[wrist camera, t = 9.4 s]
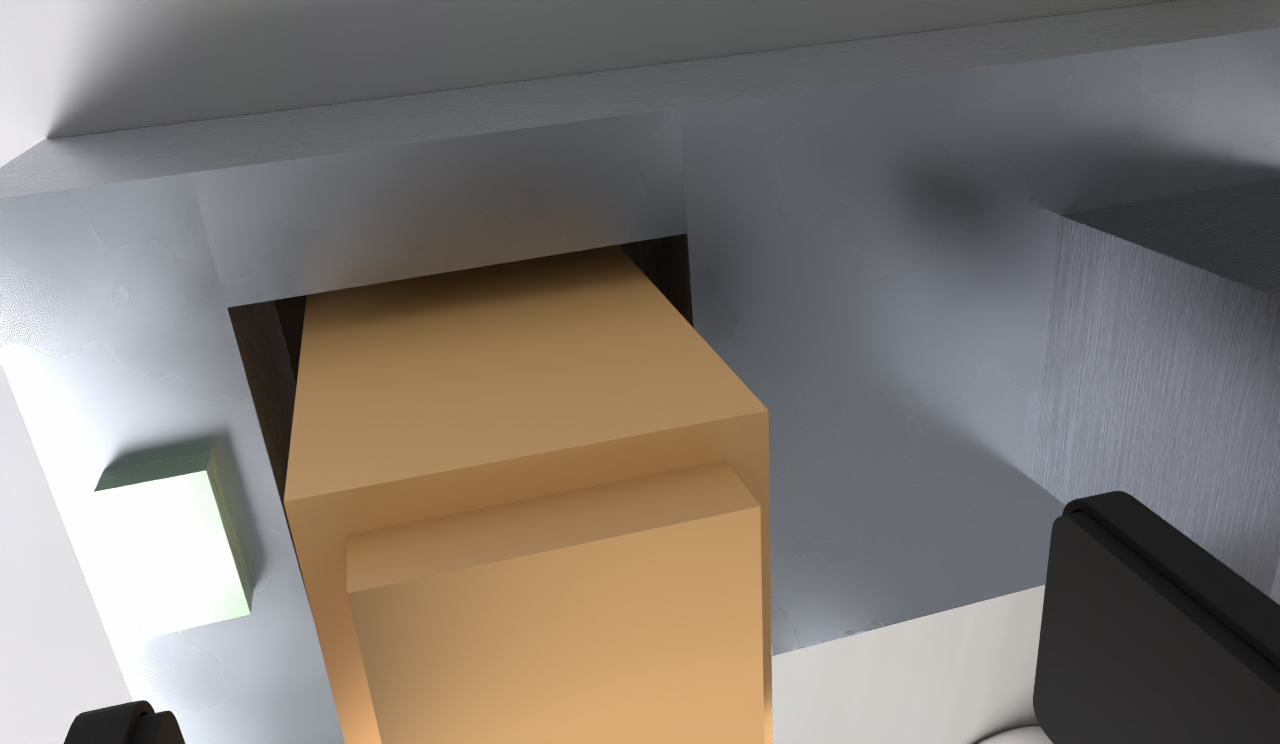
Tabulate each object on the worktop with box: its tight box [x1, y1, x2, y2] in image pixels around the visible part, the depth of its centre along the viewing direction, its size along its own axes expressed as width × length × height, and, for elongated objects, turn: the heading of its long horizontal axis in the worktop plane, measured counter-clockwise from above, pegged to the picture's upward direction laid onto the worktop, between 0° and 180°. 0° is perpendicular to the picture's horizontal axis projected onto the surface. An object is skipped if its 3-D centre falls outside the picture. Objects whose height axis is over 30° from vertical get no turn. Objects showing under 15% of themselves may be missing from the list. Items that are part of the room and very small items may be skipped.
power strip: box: [0, 0, 1280, 744], centre depth 16 cm, size 24×10×10 cm, turn 95°
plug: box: [284, 245, 772, 744], centre depth 15 cm, size 5×5×10 cm
